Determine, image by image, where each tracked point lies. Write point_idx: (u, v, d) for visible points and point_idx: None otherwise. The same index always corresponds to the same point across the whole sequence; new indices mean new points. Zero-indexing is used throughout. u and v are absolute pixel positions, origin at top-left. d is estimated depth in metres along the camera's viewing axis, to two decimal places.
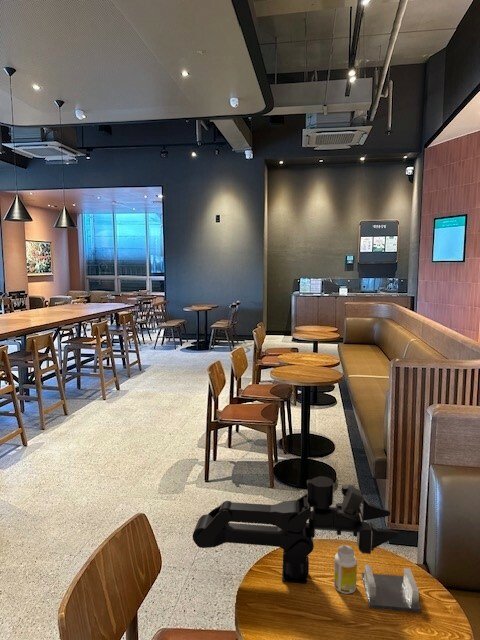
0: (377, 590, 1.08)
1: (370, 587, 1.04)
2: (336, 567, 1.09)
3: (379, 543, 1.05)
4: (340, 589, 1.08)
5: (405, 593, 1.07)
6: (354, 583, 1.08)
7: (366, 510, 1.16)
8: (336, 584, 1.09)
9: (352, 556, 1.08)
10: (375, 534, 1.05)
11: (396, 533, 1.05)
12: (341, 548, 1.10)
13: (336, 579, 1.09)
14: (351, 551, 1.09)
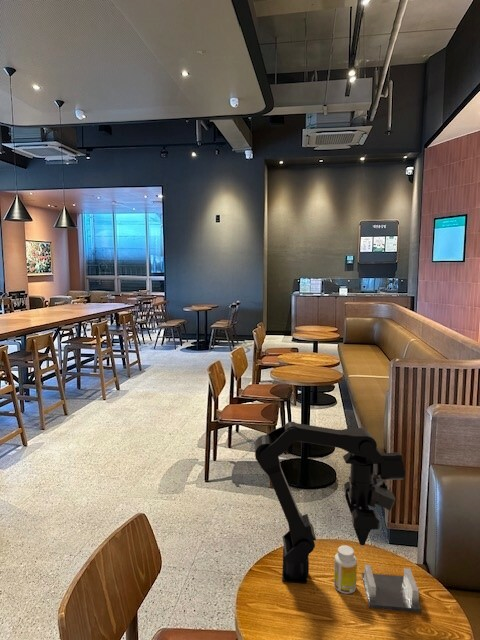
0: (377, 590, 1.08)
1: (370, 587, 1.04)
2: (336, 567, 1.09)
3: (356, 530, 1.07)
4: (340, 589, 1.08)
5: (405, 593, 1.07)
6: (354, 583, 1.08)
7: None
8: (336, 584, 1.09)
9: (352, 556, 1.08)
10: None
11: (363, 543, 1.08)
12: (341, 548, 1.10)
13: (336, 579, 1.09)
14: (351, 551, 1.09)
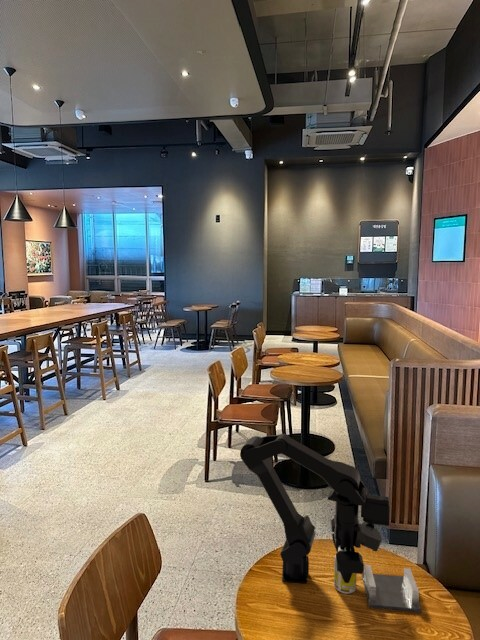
0: (377, 590, 1.08)
1: (370, 587, 1.04)
2: (336, 567, 1.09)
3: None
4: (340, 589, 1.08)
5: (405, 593, 1.07)
6: (354, 583, 1.08)
7: None
8: (336, 584, 1.09)
9: None
10: None
11: (348, 581, 1.07)
12: None
13: (336, 579, 1.09)
14: None
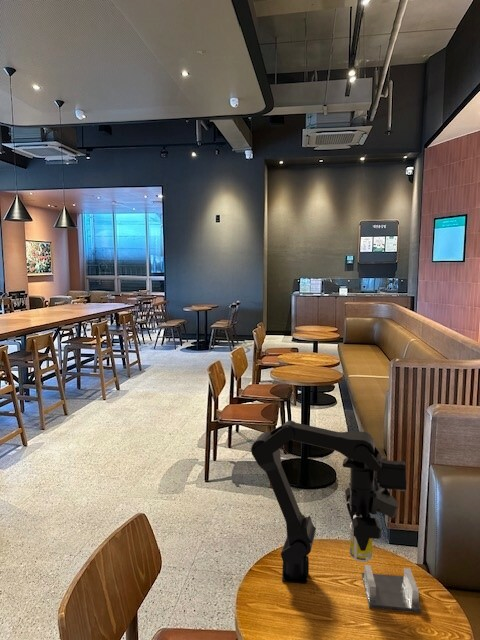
0: (377, 590, 1.08)
1: (370, 587, 1.04)
2: (352, 535, 1.07)
3: None
4: (356, 557, 1.06)
5: (405, 593, 1.07)
6: (370, 551, 1.06)
7: None
8: (352, 552, 1.07)
9: None
10: None
11: (364, 549, 1.05)
12: None
13: (352, 547, 1.07)
14: None
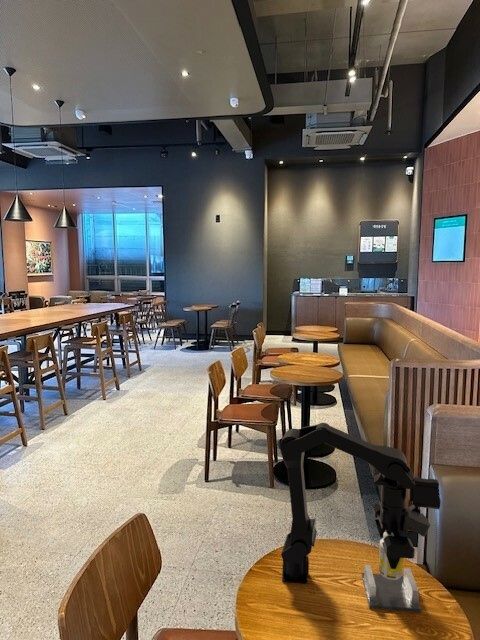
0: (377, 590, 1.08)
1: (370, 587, 1.04)
2: (382, 553, 1.06)
3: None
4: (386, 575, 1.05)
5: (405, 593, 1.07)
6: (400, 569, 1.05)
7: None
8: (381, 570, 1.06)
9: None
10: None
11: (395, 567, 1.04)
12: (386, 534, 1.07)
13: (381, 565, 1.06)
14: None
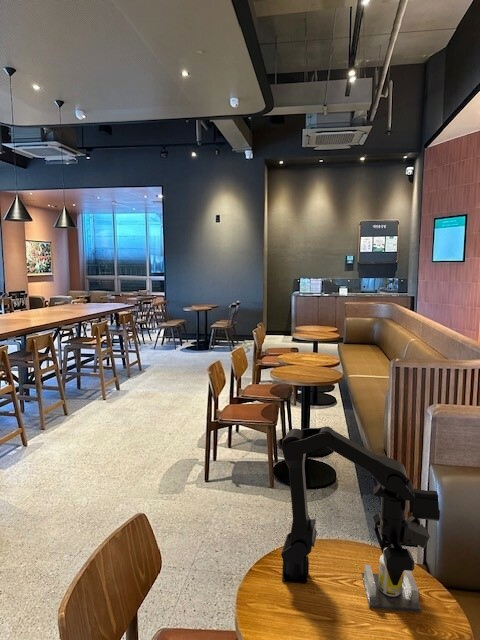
0: (377, 590, 1.08)
1: (370, 587, 1.04)
2: (382, 569, 1.06)
3: (389, 570, 1.01)
4: (386, 592, 1.06)
5: (405, 593, 1.07)
6: (400, 586, 1.06)
7: None
8: (381, 586, 1.07)
9: None
10: None
11: (396, 583, 1.02)
12: None
13: (381, 581, 1.07)
14: None
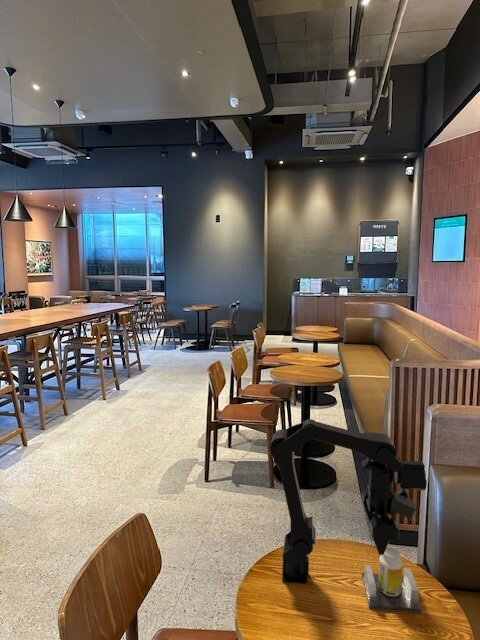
0: (377, 590, 1.08)
1: (370, 587, 1.04)
2: (381, 569, 1.06)
3: (375, 539, 1.03)
4: (386, 592, 1.06)
5: (405, 593, 1.07)
6: (400, 586, 1.06)
7: None
8: (381, 587, 1.07)
9: (398, 558, 1.06)
10: None
11: (382, 553, 1.05)
12: (386, 550, 1.07)
13: (381, 582, 1.07)
14: (397, 553, 1.06)
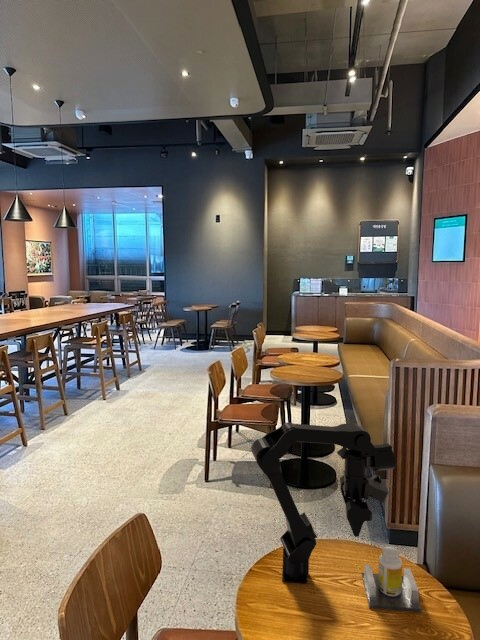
0: (377, 590, 1.08)
1: (370, 587, 1.04)
2: (381, 569, 1.06)
3: (350, 522, 1.10)
4: (386, 592, 1.06)
5: (405, 593, 1.07)
6: (400, 585, 1.06)
7: None
8: (381, 587, 1.07)
9: (398, 558, 1.06)
10: None
11: (357, 535, 1.12)
12: (385, 550, 1.08)
13: (381, 582, 1.07)
14: (396, 553, 1.06)
